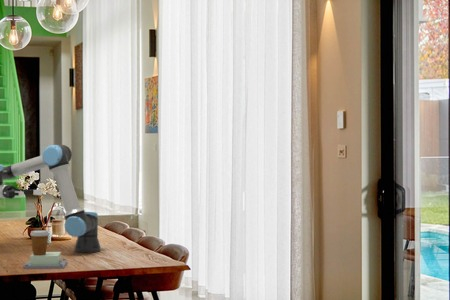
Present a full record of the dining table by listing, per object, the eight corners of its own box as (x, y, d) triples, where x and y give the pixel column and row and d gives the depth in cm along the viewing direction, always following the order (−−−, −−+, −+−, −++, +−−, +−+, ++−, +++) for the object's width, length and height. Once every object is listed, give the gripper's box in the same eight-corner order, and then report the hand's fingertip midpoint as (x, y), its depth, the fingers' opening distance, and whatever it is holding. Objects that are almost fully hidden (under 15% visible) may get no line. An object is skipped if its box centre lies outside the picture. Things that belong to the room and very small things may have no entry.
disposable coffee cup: (37, 256, 392) (38, 232, 392) (26, 254, 398) (26, 231, 398) (52, 254, 400) (52, 231, 399) (41, 252, 406) (41, 229, 405)
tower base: (67, 262, 412) (67, 250, 412) (63, 268, 392) (63, 256, 392) (28, 262, 410) (29, 251, 409) (23, 268, 390) (23, 257, 390)
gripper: (23, 196, 455) (49, 198, 443) (-11, 199, 434) (15, 201, 422) (23, 184, 455) (49, 185, 443) (-11, 186, 434) (15, 188, 422)
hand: (32, 193), depth 433 cm, fingers open, 13 cm apart
